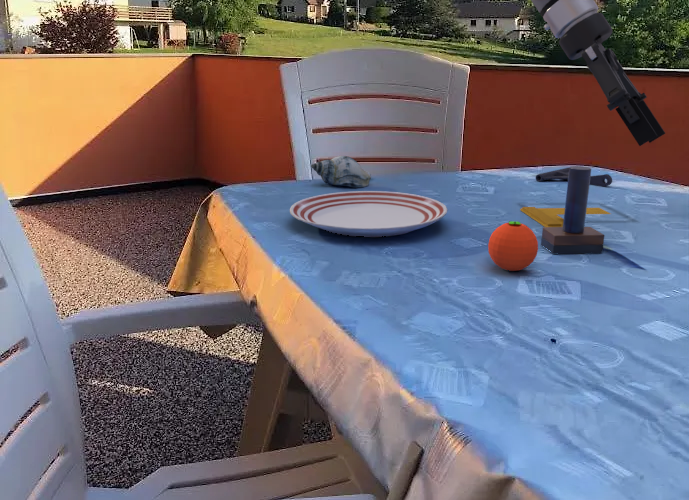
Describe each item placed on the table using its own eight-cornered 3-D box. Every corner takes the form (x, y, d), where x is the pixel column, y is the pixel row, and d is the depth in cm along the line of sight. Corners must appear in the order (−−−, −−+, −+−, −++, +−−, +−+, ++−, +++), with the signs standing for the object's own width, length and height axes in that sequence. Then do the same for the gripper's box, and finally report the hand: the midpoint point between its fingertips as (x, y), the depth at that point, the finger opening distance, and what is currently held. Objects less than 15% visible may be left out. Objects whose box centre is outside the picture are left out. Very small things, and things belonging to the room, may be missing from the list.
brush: (588, 244, 115) (597, 164, 111) (602, 253, 110) (613, 170, 106) (540, 245, 114) (548, 165, 110) (552, 254, 109) (561, 170, 105)
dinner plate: (297, 248, 110) (297, 227, 109) (284, 207, 136) (283, 190, 135) (467, 243, 114) (469, 223, 113) (423, 204, 140) (423, 188, 139)
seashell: (364, 196, 154) (312, 190, 157) (373, 176, 159) (322, 171, 162) (361, 171, 149) (308, 166, 153) (371, 152, 155) (319, 148, 158)
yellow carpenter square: (599, 209, 138) (599, 205, 138) (634, 228, 125) (635, 223, 125) (520, 210, 137) (520, 206, 136) (547, 229, 123) (548, 224, 123)
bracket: (594, 191, 155) (596, 178, 154) (535, 180, 165) (536, 169, 165) (624, 183, 165) (626, 171, 164) (566, 174, 175) (568, 162, 174)
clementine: (483, 259, 106) (487, 213, 104) (530, 261, 105) (535, 215, 103) (488, 276, 98) (492, 226, 96) (539, 278, 98) (544, 229, 96)
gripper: (573, 47, 124) (640, 149, 121) (538, 33, 102) (619, 157, 100) (612, 19, 120) (682, 124, 118) (585, -1, 98) (669, 126, 96)
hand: (653, 139), depth 109 cm, fingers open, 13 cm apart
